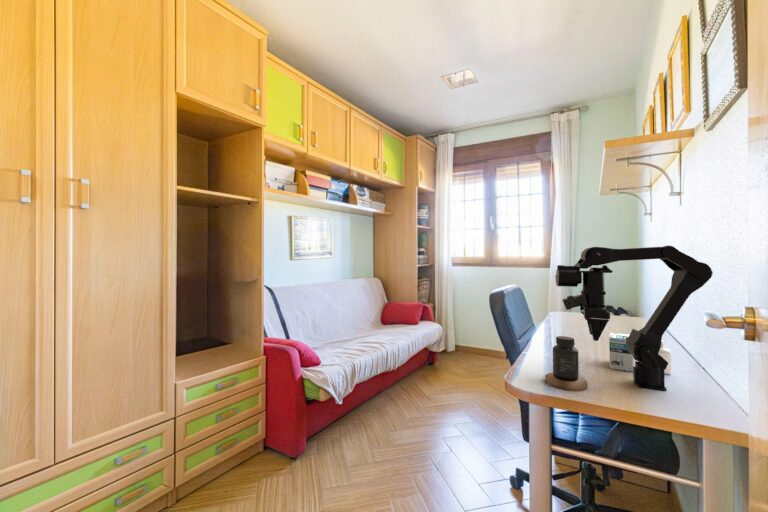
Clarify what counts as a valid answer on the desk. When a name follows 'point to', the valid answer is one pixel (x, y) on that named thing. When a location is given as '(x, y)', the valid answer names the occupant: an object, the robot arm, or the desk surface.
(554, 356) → the supplement bottle
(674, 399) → the desk surface
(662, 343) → the eye dropper bottle
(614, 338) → the light bulb box
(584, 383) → the walnut coaster
